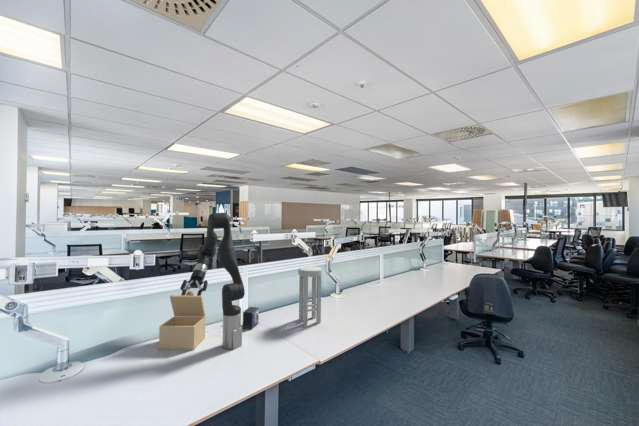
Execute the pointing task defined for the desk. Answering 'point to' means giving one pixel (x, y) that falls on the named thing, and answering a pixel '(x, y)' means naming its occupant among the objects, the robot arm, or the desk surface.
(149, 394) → the desk surface
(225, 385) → the desk surface
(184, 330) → the carton
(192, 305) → the lid flap
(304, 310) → the stool
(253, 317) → the small box
